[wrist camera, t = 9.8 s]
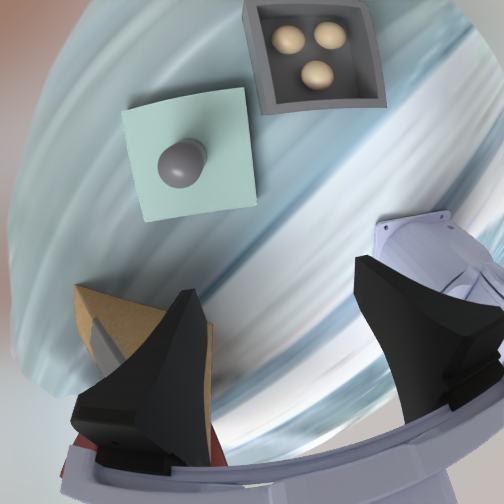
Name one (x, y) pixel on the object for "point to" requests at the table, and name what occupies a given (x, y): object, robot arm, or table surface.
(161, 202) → the lid
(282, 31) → the box
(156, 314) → the sandwich container
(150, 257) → the table surface
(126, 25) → the table surface
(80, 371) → the table surface
